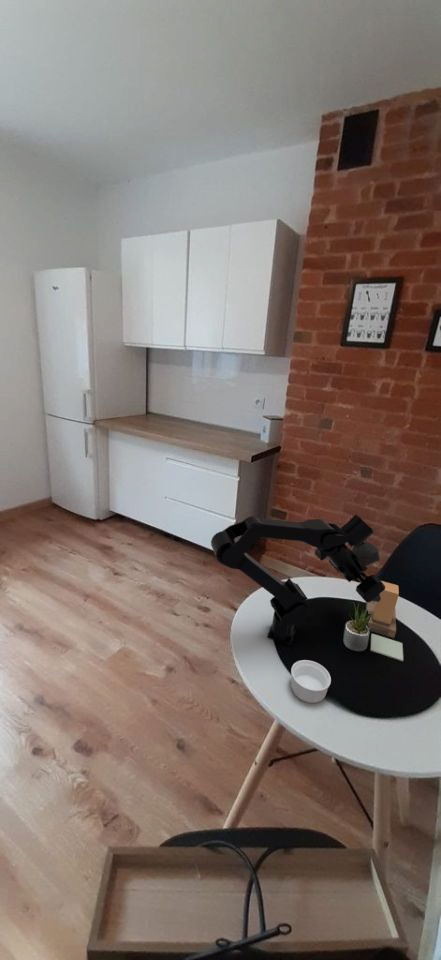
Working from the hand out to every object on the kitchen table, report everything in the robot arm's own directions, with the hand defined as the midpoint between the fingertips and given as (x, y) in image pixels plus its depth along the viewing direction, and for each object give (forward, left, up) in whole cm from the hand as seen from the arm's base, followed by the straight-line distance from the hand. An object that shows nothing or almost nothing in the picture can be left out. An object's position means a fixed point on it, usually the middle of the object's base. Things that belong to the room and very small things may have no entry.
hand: (369, 590), depth 108 cm
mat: (-5, -7, -12) cm, 15 cm away
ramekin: (-29, +10, -13) cm, 33 cm away
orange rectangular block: (+4, -5, -12) cm, 14 cm away
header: (+8, -5, -12) cm, 16 cm away
